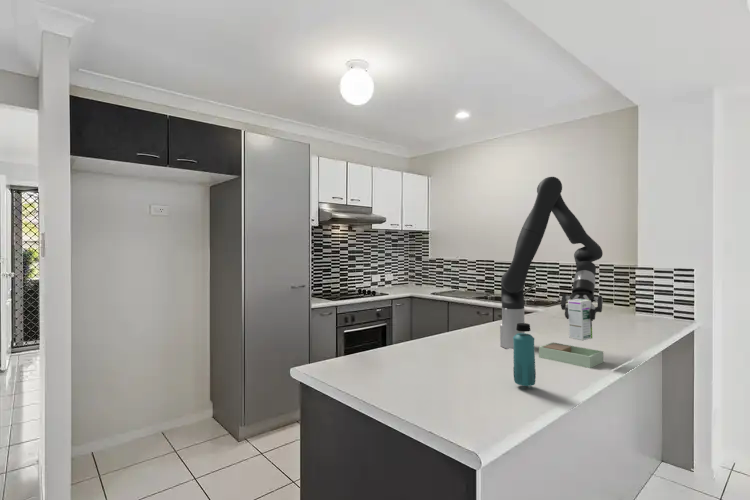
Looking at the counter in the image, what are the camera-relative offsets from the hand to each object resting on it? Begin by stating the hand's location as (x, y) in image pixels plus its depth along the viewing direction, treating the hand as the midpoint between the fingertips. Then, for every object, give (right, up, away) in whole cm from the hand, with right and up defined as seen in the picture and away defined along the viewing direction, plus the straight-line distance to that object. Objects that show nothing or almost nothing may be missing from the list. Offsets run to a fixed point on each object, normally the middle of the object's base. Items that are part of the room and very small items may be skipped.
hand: (579, 318), depth 152 cm
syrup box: (+1, -8, +1) cm, 8 cm away
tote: (-1, -17, +4) cm, 17 cm away
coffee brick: (-5, -16, +8) cm, 19 cm away
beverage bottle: (-29, -18, -24) cm, 41 cm away
